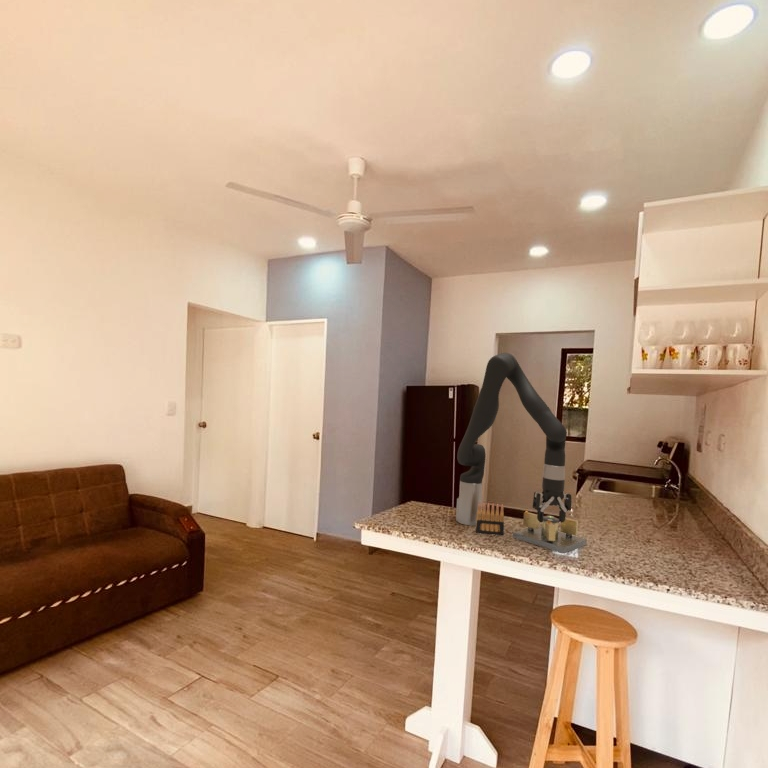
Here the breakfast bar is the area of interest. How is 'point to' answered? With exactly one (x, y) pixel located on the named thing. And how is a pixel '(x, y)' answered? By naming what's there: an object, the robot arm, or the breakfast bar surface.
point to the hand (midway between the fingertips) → (551, 521)
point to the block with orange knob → (530, 521)
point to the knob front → (550, 531)
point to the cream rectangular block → (569, 527)
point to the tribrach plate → (538, 538)
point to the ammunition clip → (490, 520)
